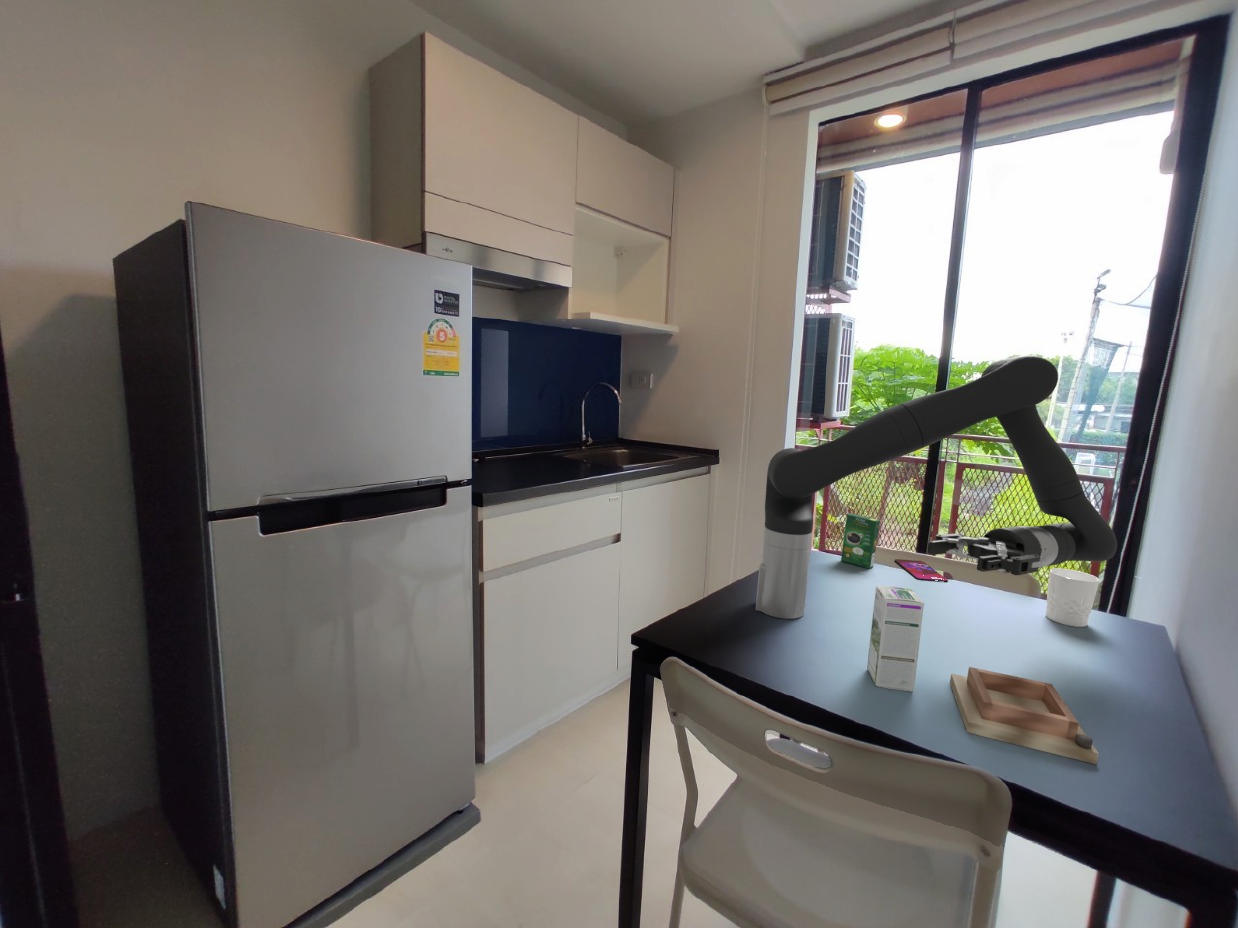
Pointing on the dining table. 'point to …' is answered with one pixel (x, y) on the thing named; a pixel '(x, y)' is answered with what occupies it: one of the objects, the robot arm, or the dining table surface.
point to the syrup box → (895, 638)
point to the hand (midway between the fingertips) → (953, 556)
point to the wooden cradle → (1020, 713)
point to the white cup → (1070, 596)
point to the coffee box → (860, 540)
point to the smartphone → (920, 570)
